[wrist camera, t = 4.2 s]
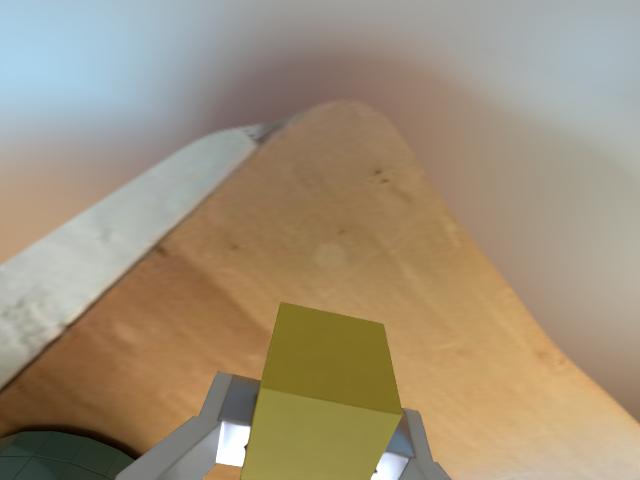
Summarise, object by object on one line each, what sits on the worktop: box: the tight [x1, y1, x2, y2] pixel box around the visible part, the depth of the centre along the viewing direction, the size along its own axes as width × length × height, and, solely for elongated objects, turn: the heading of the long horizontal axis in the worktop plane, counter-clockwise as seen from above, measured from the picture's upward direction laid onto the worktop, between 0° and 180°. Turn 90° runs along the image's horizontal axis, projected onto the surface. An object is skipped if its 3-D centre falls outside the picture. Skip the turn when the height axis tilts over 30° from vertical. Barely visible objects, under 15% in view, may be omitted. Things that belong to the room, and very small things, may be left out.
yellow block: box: [240, 302, 402, 480], centre depth 11 cm, size 5×4×4 cm
